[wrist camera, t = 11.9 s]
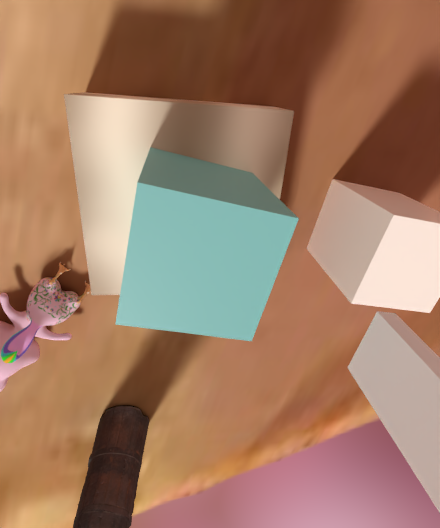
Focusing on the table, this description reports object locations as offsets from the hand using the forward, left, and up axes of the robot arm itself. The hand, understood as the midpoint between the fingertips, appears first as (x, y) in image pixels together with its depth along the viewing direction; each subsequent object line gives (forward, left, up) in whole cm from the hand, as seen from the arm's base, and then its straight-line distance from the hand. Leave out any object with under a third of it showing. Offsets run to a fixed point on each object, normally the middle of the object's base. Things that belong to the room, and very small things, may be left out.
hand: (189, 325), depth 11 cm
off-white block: (+14, 0, -15) cm, 21 cm away
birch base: (0, 0, -16) cm, 16 cm away
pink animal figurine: (-11, -14, -16) cm, 24 cm away
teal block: (+1, 0, -11) cm, 11 cm away
